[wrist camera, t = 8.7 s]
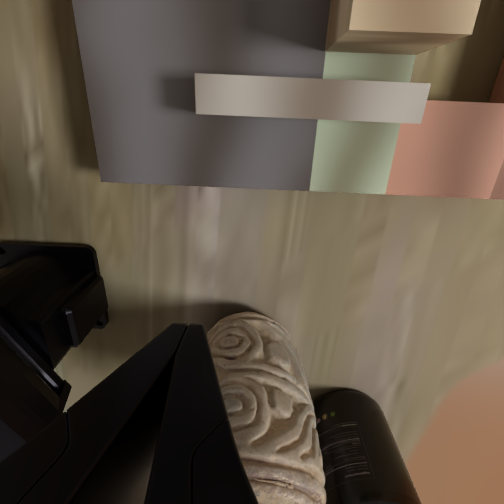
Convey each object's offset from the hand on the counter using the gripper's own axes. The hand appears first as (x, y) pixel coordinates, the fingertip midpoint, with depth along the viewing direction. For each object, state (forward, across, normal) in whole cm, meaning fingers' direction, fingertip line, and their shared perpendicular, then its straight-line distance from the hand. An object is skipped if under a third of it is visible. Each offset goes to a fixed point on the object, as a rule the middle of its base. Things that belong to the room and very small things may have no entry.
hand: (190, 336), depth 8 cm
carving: (+12, -2, +10) cm, 16 cm away
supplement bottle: (+12, -10, +18) cm, 24 cm away
